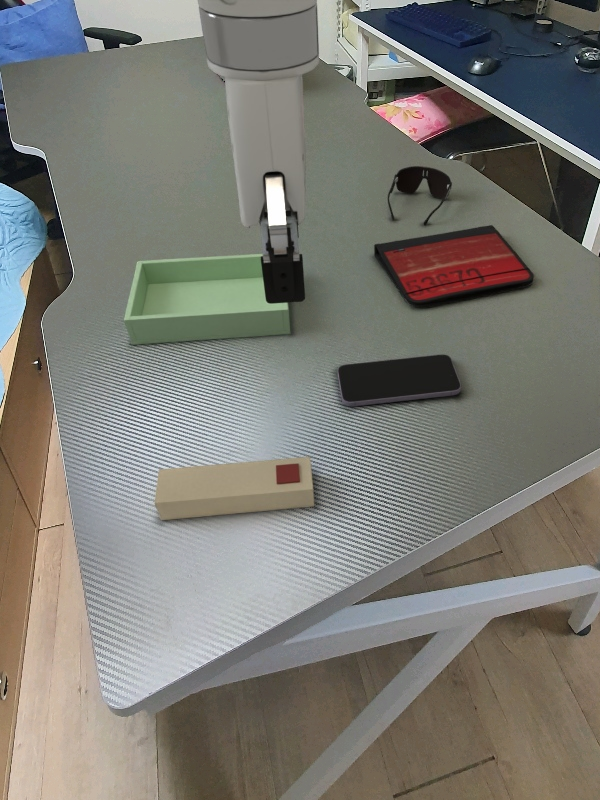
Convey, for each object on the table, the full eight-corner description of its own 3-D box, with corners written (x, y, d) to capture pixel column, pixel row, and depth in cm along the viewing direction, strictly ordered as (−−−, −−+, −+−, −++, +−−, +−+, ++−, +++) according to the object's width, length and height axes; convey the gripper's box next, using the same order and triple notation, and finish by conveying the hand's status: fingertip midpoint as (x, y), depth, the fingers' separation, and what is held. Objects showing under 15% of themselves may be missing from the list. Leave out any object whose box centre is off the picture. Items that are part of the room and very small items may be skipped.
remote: (161, 520, 62) (153, 501, 60) (165, 486, 65) (158, 467, 63) (314, 506, 63) (313, 487, 61) (311, 473, 66) (310, 454, 64)
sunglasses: (452, 196, 110) (454, 170, 106) (437, 234, 104) (439, 209, 100) (396, 188, 113) (397, 162, 108) (379, 225, 106) (379, 199, 102)
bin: (132, 344, 81) (123, 320, 78) (144, 285, 91) (137, 260, 88) (290, 334, 83) (288, 309, 80) (286, 276, 93) (284, 252, 90)
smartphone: (336, 365, 78) (449, 353, 79) (336, 371, 78) (448, 359, 79) (342, 403, 73) (463, 390, 74) (343, 410, 74) (462, 396, 75)
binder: (373, 242, 95) (492, 222, 99) (373, 255, 97) (489, 235, 101) (411, 301, 85) (540, 277, 90) (410, 315, 87) (536, 290, 92)
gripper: (209, 6, 45) (241, 222, 58) (196, 83, 33) (239, 332, 46) (309, 3, 45) (318, 218, 58) (329, 79, 34) (335, 325, 47)
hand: (283, 268), depth 52 cm, fingers open, 9 cm apart
